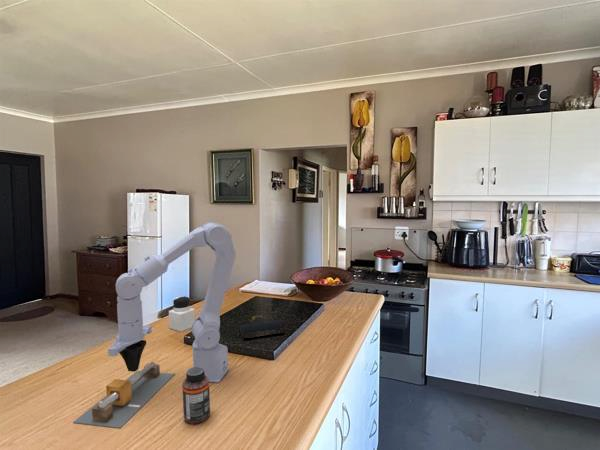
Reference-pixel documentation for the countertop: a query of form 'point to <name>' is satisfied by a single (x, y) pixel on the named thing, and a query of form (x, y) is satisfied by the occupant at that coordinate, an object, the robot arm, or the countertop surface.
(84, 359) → the countertop surface
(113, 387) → the collar
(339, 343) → the countertop surface
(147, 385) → the pipe rig
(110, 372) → the countertop surface
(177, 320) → the medicine bottle
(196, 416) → the supplement bottle
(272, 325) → the pipe connector
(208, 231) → the robot arm
